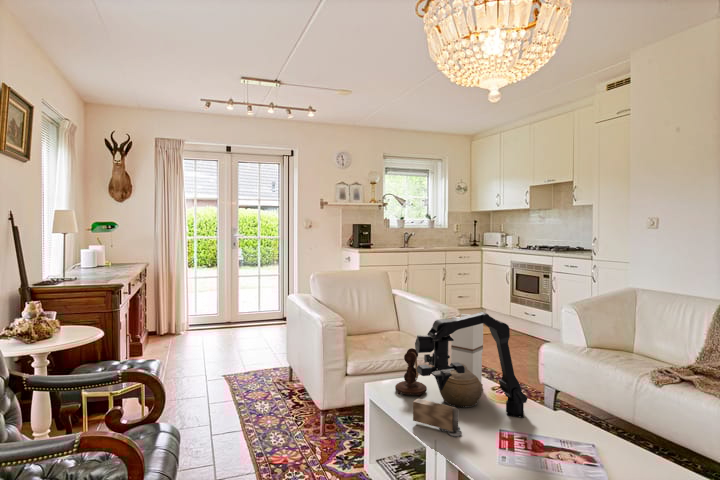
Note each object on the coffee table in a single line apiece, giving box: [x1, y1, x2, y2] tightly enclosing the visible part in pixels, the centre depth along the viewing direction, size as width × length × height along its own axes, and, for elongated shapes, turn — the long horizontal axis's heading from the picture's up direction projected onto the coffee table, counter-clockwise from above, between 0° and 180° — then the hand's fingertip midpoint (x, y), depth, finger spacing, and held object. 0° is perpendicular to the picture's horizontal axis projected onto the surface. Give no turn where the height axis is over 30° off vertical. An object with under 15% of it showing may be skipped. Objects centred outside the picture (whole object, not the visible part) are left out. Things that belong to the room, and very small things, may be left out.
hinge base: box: [447, 429, 463, 438], centre depth 163 cm, size 5×5×1 cm
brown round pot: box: [439, 363, 483, 408], centre depth 194 cm, size 20×17×17 cm
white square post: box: [450, 313, 484, 389], centre depth 211 cm, size 11×11×35 cm
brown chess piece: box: [394, 348, 428, 398], centre depth 206 cm, size 15×15×20 cm
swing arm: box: [412, 398, 459, 431], centre depth 167 cm, size 18×4×8 cm, turn 57°
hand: (440, 390), depth 176 cm, fingers closed
